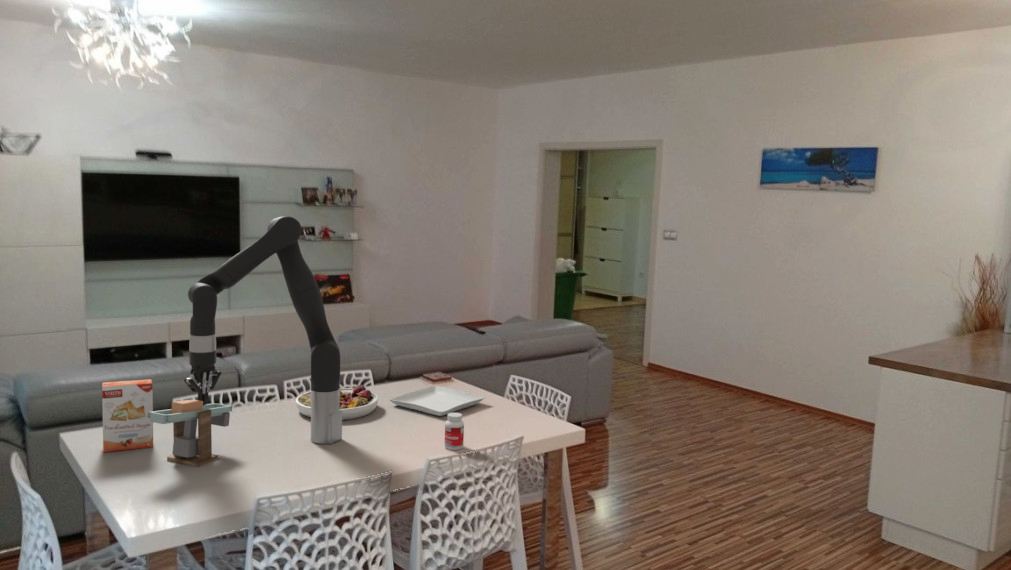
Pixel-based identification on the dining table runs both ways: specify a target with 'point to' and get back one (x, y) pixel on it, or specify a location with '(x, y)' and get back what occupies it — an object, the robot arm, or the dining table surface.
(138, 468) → the dining table surface
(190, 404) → the block
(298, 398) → the bowl
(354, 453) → the dining table surface
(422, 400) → the square plate
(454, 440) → the pill bottle
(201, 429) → the pivot stand
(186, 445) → the beam
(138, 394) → the cracker box
